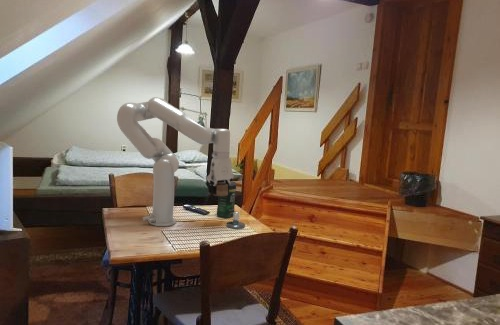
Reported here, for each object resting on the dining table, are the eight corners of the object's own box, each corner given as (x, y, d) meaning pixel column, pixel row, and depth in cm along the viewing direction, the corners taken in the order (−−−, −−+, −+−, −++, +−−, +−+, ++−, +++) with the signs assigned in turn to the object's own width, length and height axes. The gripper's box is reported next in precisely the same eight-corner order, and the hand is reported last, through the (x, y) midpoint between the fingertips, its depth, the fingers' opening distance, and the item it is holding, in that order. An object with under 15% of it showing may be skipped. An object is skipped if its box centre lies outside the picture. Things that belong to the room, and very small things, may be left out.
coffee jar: (226, 219, 183) (229, 183, 181) (214, 216, 187) (216, 181, 185) (236, 215, 192) (239, 181, 189) (224, 212, 195) (226, 179, 193)
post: (235, 230, 166) (236, 215, 165) (222, 225, 172) (223, 211, 172) (248, 227, 173) (249, 212, 172) (235, 222, 179) (236, 208, 178)
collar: (219, 196, 163) (219, 186, 162) (209, 194, 168) (209, 183, 167) (230, 194, 168) (231, 184, 167) (220, 192, 173) (221, 182, 172)
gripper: (211, 157, 157) (210, 196, 159) (240, 155, 169) (239, 192, 171) (201, 155, 162) (200, 194, 164) (229, 153, 174) (228, 189, 177)
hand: (220, 192), depth 168 cm, fingers closed on collar, 7 cm apart
